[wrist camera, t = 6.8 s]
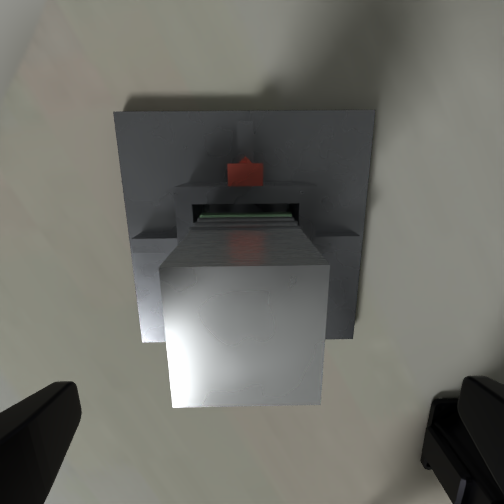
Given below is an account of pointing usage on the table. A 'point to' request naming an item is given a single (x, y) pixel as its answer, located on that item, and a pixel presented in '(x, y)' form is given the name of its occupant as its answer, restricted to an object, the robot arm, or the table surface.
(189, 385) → the block
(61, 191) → the table surface
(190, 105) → the table surface
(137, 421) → the table surface
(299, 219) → the jack base
